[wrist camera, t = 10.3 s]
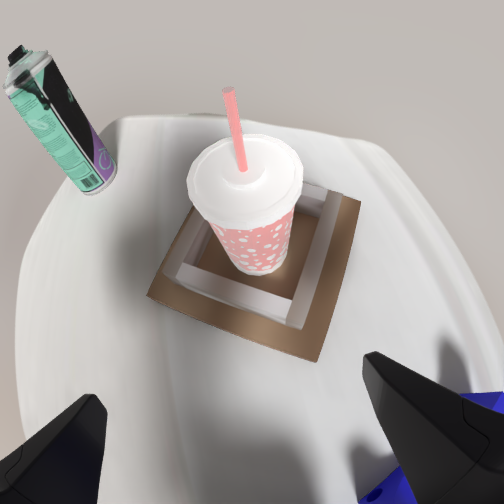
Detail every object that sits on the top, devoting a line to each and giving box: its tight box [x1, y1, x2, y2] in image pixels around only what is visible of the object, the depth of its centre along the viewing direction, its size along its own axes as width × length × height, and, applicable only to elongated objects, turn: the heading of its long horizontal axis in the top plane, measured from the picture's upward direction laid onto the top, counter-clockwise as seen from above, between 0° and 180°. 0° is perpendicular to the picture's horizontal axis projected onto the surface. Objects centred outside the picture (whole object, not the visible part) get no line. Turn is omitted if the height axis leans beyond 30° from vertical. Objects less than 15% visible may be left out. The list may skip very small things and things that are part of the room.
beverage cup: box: [186, 87, 303, 276], centre depth 16 cm, size 6×6×14 cm
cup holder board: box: [146, 183, 361, 363], centre depth 21 cm, size 14×14×4 cm
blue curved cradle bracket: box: [358, 391, 504, 504], centre depth 11 cm, size 12×4×6 cm, turn 131°
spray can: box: [3, 45, 117, 196], centre depth 20 cm, size 6×6×20 cm
